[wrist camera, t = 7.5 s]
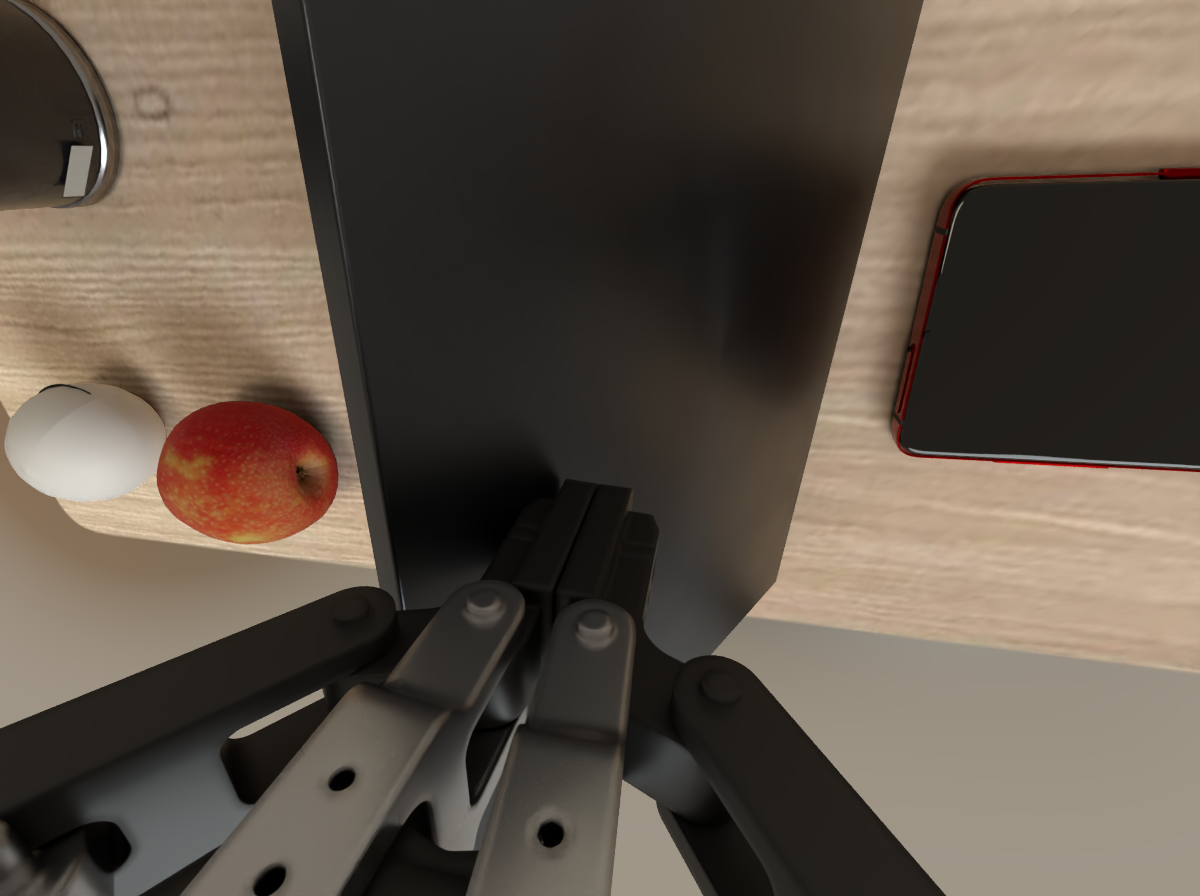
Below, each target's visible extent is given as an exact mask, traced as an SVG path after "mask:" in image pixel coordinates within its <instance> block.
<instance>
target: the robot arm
mask: <svg viewBox="0 0 1200 896" xmlns="http://www.w3.org/2000/svg"><path fill="white" fill-rule="evenodd" d="M118 165H119V140H118V133H117V128H116V123H115V119H114V115H113V112H112V109H111V106H110V103H109V100H108V98H107V96H106V93H105V91H104V89H103V87H102V85H101V83H100V81H99V79H98V77H97V75H96V73H95V71H94V70H93V68H92V66H91V65H90V63H89V62H88V60H87V59H86V57H85V56H84V54H83V53H82V51H81V50H80V49H79V47H78V46H77V45H76V44H75V42H74V41H73V40H72V39H71V38H70V36H69V35H68V34H67V33H66V32H65V31H64V30H63V29H62V28H61V27H60V26H59V25H58V24H57V23H56V22H55V21H54V20H52V19H51V18H50V17H49V16H47V15H46V14H45V13H44V12H42V11H41V10H39V9H38V8H37V7H35V6H33V5H32V4H30V3H28V2H26V1H25V0H0V211H3V210H16V209H30V208H44V207H52V208H73V207H83V206H88V205H91V204H94V203H96V202H98V201H99V200H101V199H102V198H103V197H104V196H105V195H106V194H107V193H108V191H109V190H110V189H111V187H112V185H113V183H114V181H115V178H116V175H117V170H118ZM632 503H633V489H632V488H625V487H619V486H612V485H605V484H600V485H599V484H598V483H591V482H585V481H578V480H571V479H566V480H565V481H564V483H563V485H562V487H561V489H560V491H559V493H558V495H557V496H556V498H555V499H549V498H543V497H539V498H538V499H536V500H535V501H533V502H532V503H530V504H529V505H527V506H526V507H524V508H523V509H522V511H521V513H520V514H519V516H518V518H517V519H516V521H515V523H514V526H512V528H511V529H510V531H509V533H508V534H507V538H505V539H504V541H503V543H502V544H501V546H500V548H499V549H498V551H497V553H496V554H495V556H494V558H493V559H492V561H491V563H490V564H489V566H488V568H487V569H486V571H485V573H484V574H483V576H482V578H481V579H480V581H475V582H472V583H469V584H466V585H464V586H462V587H460V588H459V589H457V590H456V591H455V592H453V593H452V594H451V595H450V596H449V598H448V599H447V600H446V601H445V603H444V604H443V605H442V606H441V607H437V608H428V609H413V610H397V611H396V605H395V601H394V599H393V597H392V596H391V595H390V594H389V593H388V592H386V591H385V590H382V589H380V588H376V587H370V586H360V587H353V588H349V589H344V590H341V591H339V592H336V593H334V594H331V595H329V596H326V597H324V598H321V599H319V600H316V601H314V602H312V603H309V604H307V605H304V606H302V607H299V608H297V609H294V610H292V611H289V612H287V613H285V614H282V615H279V616H277V617H274V618H272V619H270V620H267V621H265V622H262V623H260V624H257V625H255V626H252V627H250V628H248V629H245V630H242V631H240V632H238V633H235V634H232V635H230V636H228V637H225V638H223V639H220V640H218V641H216V642H213V643H211V644H208V645H205V646H203V647H200V648H198V649H196V650H193V651H191V652H188V653H186V654H183V655H181V656H178V657H176V658H173V659H171V660H168V661H166V662H163V663H161V664H158V665H156V666H154V667H151V668H149V669H146V670H144V671H141V672H139V673H136V674H134V675H131V676H129V677H126V678H124V679H122V680H119V681H117V682H114V683H112V684H109V685H107V686H104V687H102V688H99V689H97V690H94V691H92V692H89V693H87V694H84V695H82V696H80V697H78V698H75V699H72V700H70V701H67V702H65V703H63V704H60V705H57V706H55V707H52V708H50V709H47V710H45V711H43V712H40V713H38V714H35V715H33V716H30V717H28V718H25V719H23V720H20V721H18V722H15V723H13V724H10V725H8V726H6V727H3V728H1V729H0V896H610V895H611V885H612V875H613V865H614V855H615V846H616V835H617V825H618V816H619V806H620V796H621V785H622V779H623V780H624V781H626V782H628V783H629V784H631V785H632V786H634V787H635V788H637V789H639V790H640V791H642V792H643V793H645V794H646V795H648V796H649V797H651V798H653V799H654V800H656V802H657V803H656V804H657V808H658V812H659V814H660V816H661V819H662V821H663V822H664V824H665V826H666V828H667V830H668V832H669V833H670V835H671V837H672V839H673V841H674V843H675V844H676V846H677V848H678V850H679V852H680V854H681V855H682V857H683V859H684V861H685V863H686V865H687V866H688V868H689V870H690V872H691V874H692V876H693V877H694V879H695V881H696V883H697V884H698V887H699V888H700V890H701V892H702V894H703V896H946V895H945V894H944V893H943V892H942V890H941V889H940V888H939V887H938V886H937V885H936V884H935V882H934V881H933V880H932V879H931V878H930V877H929V875H928V874H927V873H926V872H925V871H924V870H923V869H922V868H921V866H920V865H919V864H918V863H917V862H916V860H915V859H914V858H913V857H912V856H911V855H910V853H909V852H908V851H907V850H906V849H905V848H904V847H903V845H902V844H901V843H900V842H899V841H898V840H897V838H896V837H895V836H894V835H893V834H892V833H891V831H890V830H889V829H888V828H887V827H886V826H885V825H884V823H883V822H882V821H881V820H880V819H879V818H878V816H877V815H876V814H875V813H874V812H873V811H872V809H870V807H869V806H868V805H867V804H866V803H865V801H864V800H863V799H862V798H861V797H860V796H859V794H858V793H857V792H856V791H855V790H854V789H853V788H852V786H851V785H850V784H849V783H848V782H847V781H846V779H845V778H844V777H843V776H842V775H841V774H840V773H839V771H838V770H837V769H836V768H835V767H834V766H833V764H832V763H831V762H830V761H829V760H828V759H827V757H826V756H825V755H824V754H823V753H822V752H821V751H820V749H818V747H817V746H816V745H815V744H814V743H813V741H812V740H811V739H810V738H809V737H808V736H807V734H806V733H805V732H804V731H803V730H802V729H801V727H800V726H799V725H798V724H797V723H796V722H795V720H794V719H793V718H792V717H791V716H790V715H789V714H788V712H787V711H786V710H785V709H784V708H783V707H782V706H781V704H780V703H779V702H778V701H777V700H776V698H775V697H774V696H773V695H772V694H771V693H770V692H769V690H768V689H767V688H766V687H765V686H764V685H763V684H762V682H761V681H760V680H759V679H758V678H757V677H756V676H755V675H754V674H753V672H751V671H750V670H749V669H748V668H746V667H745V666H743V665H742V664H740V663H738V662H736V661H734V660H732V659H729V658H726V657H722V656H716V655H705V656H699V657H696V658H693V659H691V660H689V661H687V662H686V663H683V662H681V661H679V660H677V659H675V658H673V657H671V656H669V655H668V654H666V653H664V652H663V651H661V650H660V649H659V648H657V647H656V646H655V645H654V644H653V643H652V641H651V640H650V639H649V637H648V636H647V634H646V632H645V625H646V619H647V614H648V609H649V603H650V598H651V593H652V587H653V581H654V572H655V564H656V555H657V547H658V538H659V528H658V526H657V524H656V521H655V519H654V517H653V515H651V514H645V513H639V512H632ZM536 683H537V685H536V689H535V692H534V696H533V699H532V703H531V707H530V710H529V714H528V717H527V713H528V706H527V705H528V703H529V700H530V697H531V695H532V692H533V689H534V687H535V684H536ZM320 689H323V693H324V698H322V699H320V700H318V701H316V702H314V703H312V704H310V705H308V706H306V707H304V708H302V709H300V710H298V711H296V712H295V713H292V714H291V715H288V716H286V717H284V718H282V719H280V720H278V721H277V722H275V723H273V724H271V725H269V726H267V727H265V728H263V729H261V730H259V731H257V732H255V733H253V734H251V735H248V736H246V737H243V738H238V739H230V738H229V737H230V736H231V735H232V734H233V733H235V732H236V731H237V730H239V729H241V728H243V727H245V726H247V725H249V724H251V723H253V722H255V721H257V720H259V719H261V718H263V717H265V716H267V715H269V714H271V713H273V712H275V711H277V710H279V709H281V708H283V707H285V706H287V705H289V704H291V703H293V702H295V701H297V700H299V699H301V698H303V697H305V696H307V695H309V694H311V693H313V692H315V691H318V690H320ZM526 719H527V720H526ZM501 774H502V775H501ZM500 776H501V778H500ZM499 779H500V781H499ZM498 781H499V785H498V788H497V792H496V795H495V798H494V802H493V805H492V809H491V812H490V815H489V819H488V822H487V825H486V829H485V832H484V836H483V839H482V842H481V846H480V849H479V850H474V845H475V839H476V834H477V831H478V827H479V824H480V821H481V818H482V816H483V814H484V811H485V809H486V807H487V805H488V803H489V800H490V798H491V796H492V794H493V792H494V790H495V787H496V785H497V783H498Z"/></svg>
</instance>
